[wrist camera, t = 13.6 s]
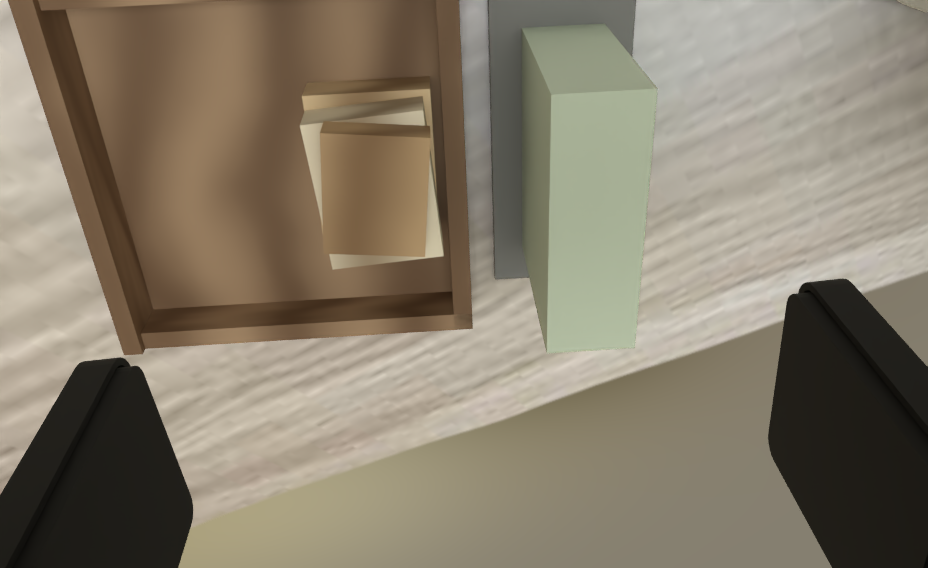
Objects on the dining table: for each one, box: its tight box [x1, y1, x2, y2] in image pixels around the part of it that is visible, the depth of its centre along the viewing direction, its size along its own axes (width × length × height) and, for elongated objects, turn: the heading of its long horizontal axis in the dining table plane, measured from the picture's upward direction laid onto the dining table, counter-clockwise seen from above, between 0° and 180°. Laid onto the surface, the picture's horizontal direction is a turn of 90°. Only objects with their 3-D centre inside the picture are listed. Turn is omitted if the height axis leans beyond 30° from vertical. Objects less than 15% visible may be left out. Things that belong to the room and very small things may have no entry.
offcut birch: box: [300, 96, 444, 269], centre depth 39 cm, size 6×8×2 cm
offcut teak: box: [320, 121, 430, 257], centre depth 37 cm, size 5×6×2 cm
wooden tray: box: [8, 0, 473, 355], centre depth 40 cm, size 19×19×4 cm
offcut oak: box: [302, 76, 438, 233], centre depth 40 cm, size 6×8×2 cm
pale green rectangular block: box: [522, 23, 658, 353], centre depth 37 cm, size 4×12×10 cm, turn 2°
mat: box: [488, 0, 636, 279], centre depth 42 cm, size 7×16×1 cm, turn 2°
